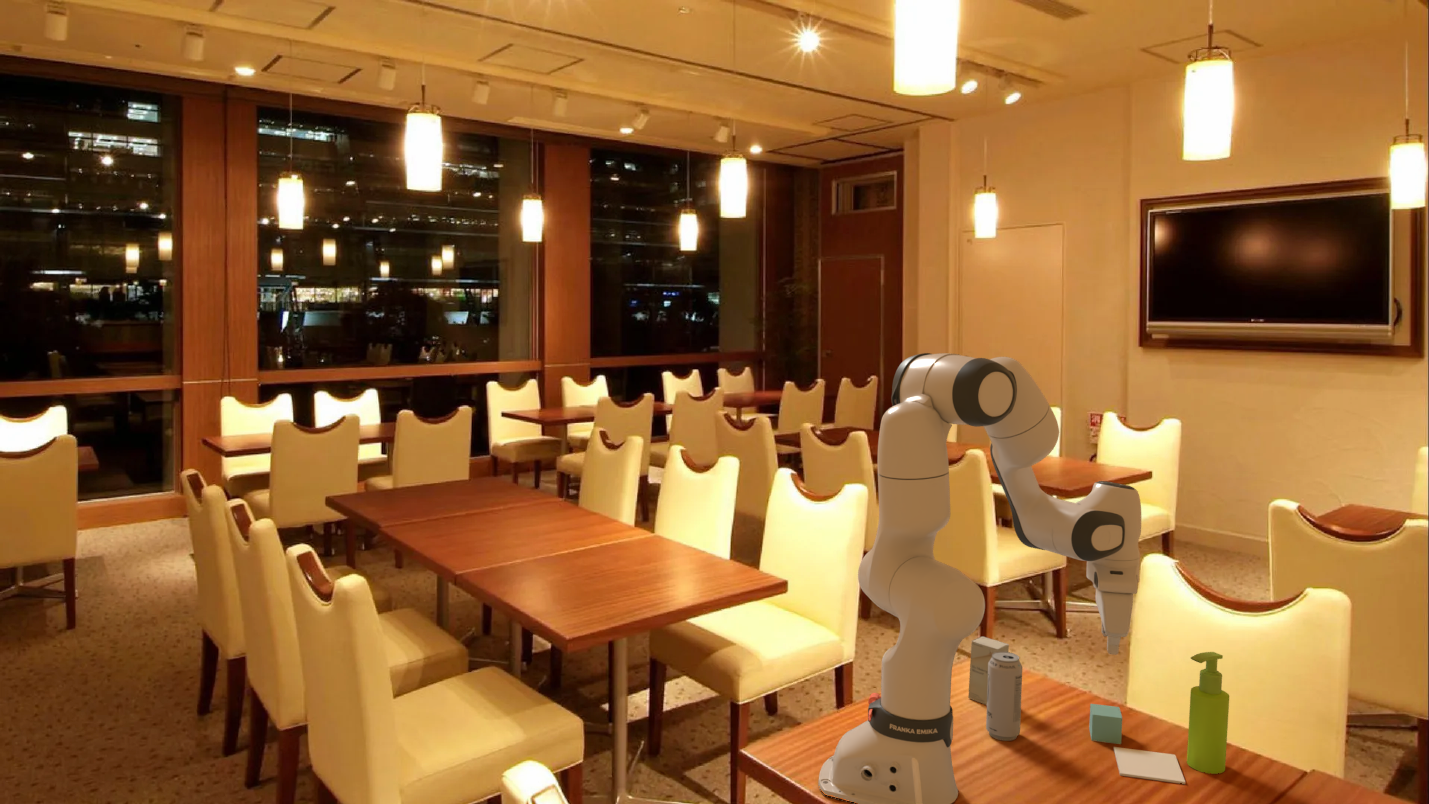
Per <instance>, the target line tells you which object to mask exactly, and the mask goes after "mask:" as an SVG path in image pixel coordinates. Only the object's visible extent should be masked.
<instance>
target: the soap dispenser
mask: <svg viewBox="0 0 1429 804" xmlns="http://www.w3.org/2000/svg"><path fill="white" fill-rule="evenodd" d="M1223 656H1224V655H1222V654H1220V653H1217V652H1215V651H1206V652H1200V653H1197V654H1194V655H1192V656H1191V657H1190V659H1191V661H1194V662H1196V663H1199V664H1202V663H1205V668H1202V669H1201V670H1200V671H1199V681H1198V682H1199V685H1196V686H1193V687H1191V688H1190V697H1189V715H1188V716H1189V717H1188V729H1187V730H1188V732H1187V733H1188V735H1187V751H1186V755H1187V756H1186V764H1187V766H1189V767H1190V768H1192V769H1194V770H1196V771H1198V772H1200V773H1204V772H1205V774H1210V773H1211V775H1212V774H1213V775H1215V774H1217V775H1218V773H1219V774H1223V773H1224V772H1225V771H1226V760H1227V743H1228V742H1227V741H1228V727H1229V725H1228V724H1229V710H1230V709H1229V707H1230V695H1229V693H1228V692H1226V691H1224V690H1223V689H1222V687H1223V686H1222V683H1223V674H1222V672H1220V671H1218V660H1222V659H1223Z"/></svg>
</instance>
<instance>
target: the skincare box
mask: <svg viewBox="0 0 1429 804" xmlns="http://www.w3.org/2000/svg"><path fill="white" fill-rule="evenodd" d="M970 647H971V648H970V665H969V678H968V679H969V681H968V682H969V683H968V696H967V697H968V699H970V700H972V701H975V702H978V703H980V704H983V705H985V706H987V685H988V663H989V661H990V659H991V658H992V654H993V653H995V652H1009V647H1010V644H1009V643H1006V642H1002V641H999V640H997V639H993V638H989V637H986V636H984V635H983V636H982V635H981V636H979V637H977V638H974V639H973V640H971V646H970Z"/></svg>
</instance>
